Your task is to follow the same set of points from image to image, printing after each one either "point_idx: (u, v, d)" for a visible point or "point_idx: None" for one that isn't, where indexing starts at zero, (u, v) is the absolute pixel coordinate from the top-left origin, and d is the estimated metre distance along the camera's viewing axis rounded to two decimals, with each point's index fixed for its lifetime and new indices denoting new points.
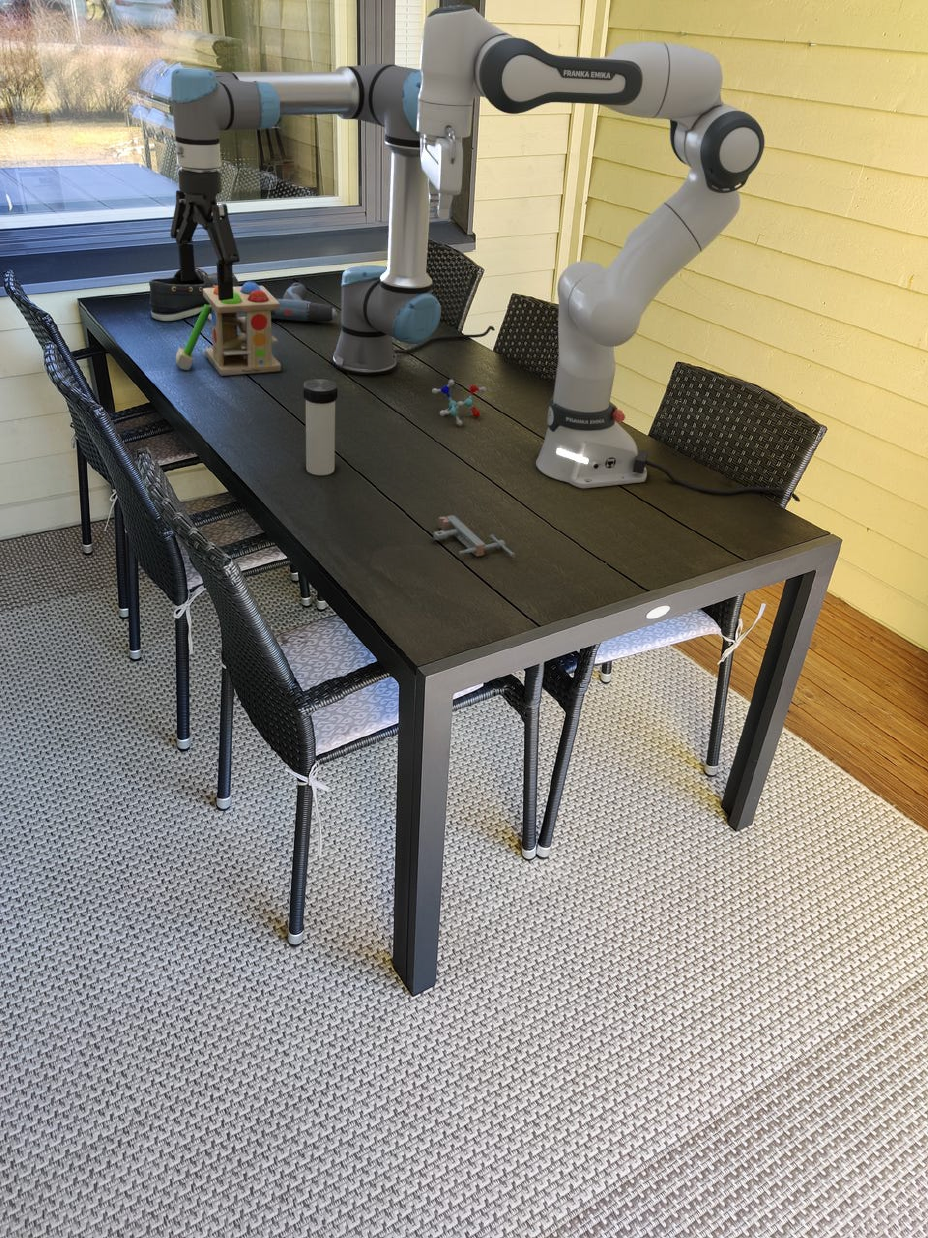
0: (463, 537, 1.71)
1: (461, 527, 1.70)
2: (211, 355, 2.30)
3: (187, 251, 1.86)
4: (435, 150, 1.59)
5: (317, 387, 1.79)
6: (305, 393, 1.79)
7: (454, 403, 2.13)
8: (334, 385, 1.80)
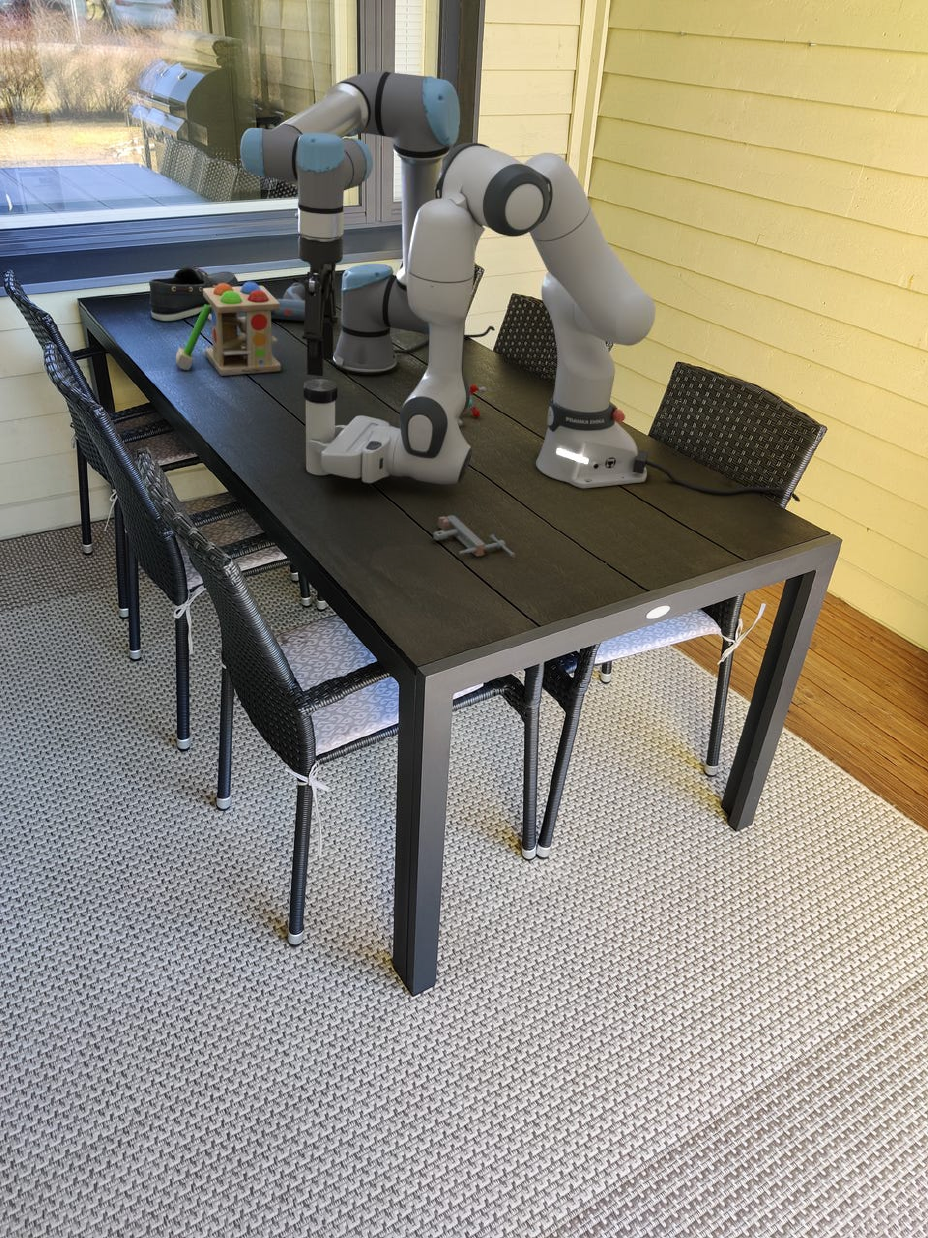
0: (463, 537, 1.71)
1: (461, 527, 1.70)
2: (211, 355, 2.30)
3: (325, 330, 1.78)
4: None
5: (317, 387, 1.79)
6: (305, 393, 1.79)
7: None
8: (334, 385, 1.80)
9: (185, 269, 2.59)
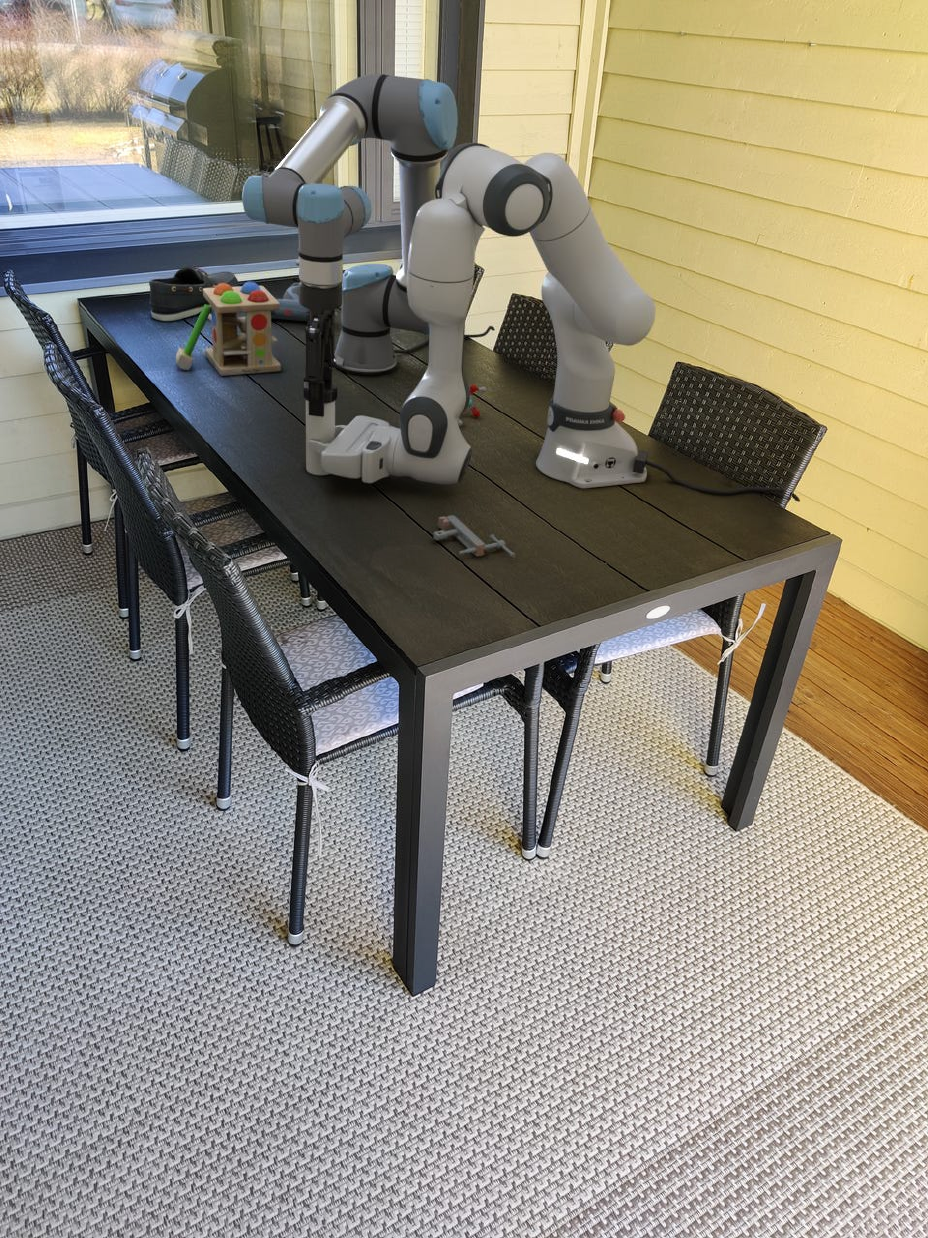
0: (463, 537, 1.71)
1: (461, 527, 1.70)
2: (211, 355, 2.30)
3: (324, 374, 1.82)
4: None
5: None
6: (305, 393, 1.79)
7: None
8: (334, 385, 1.80)
9: (185, 269, 2.59)
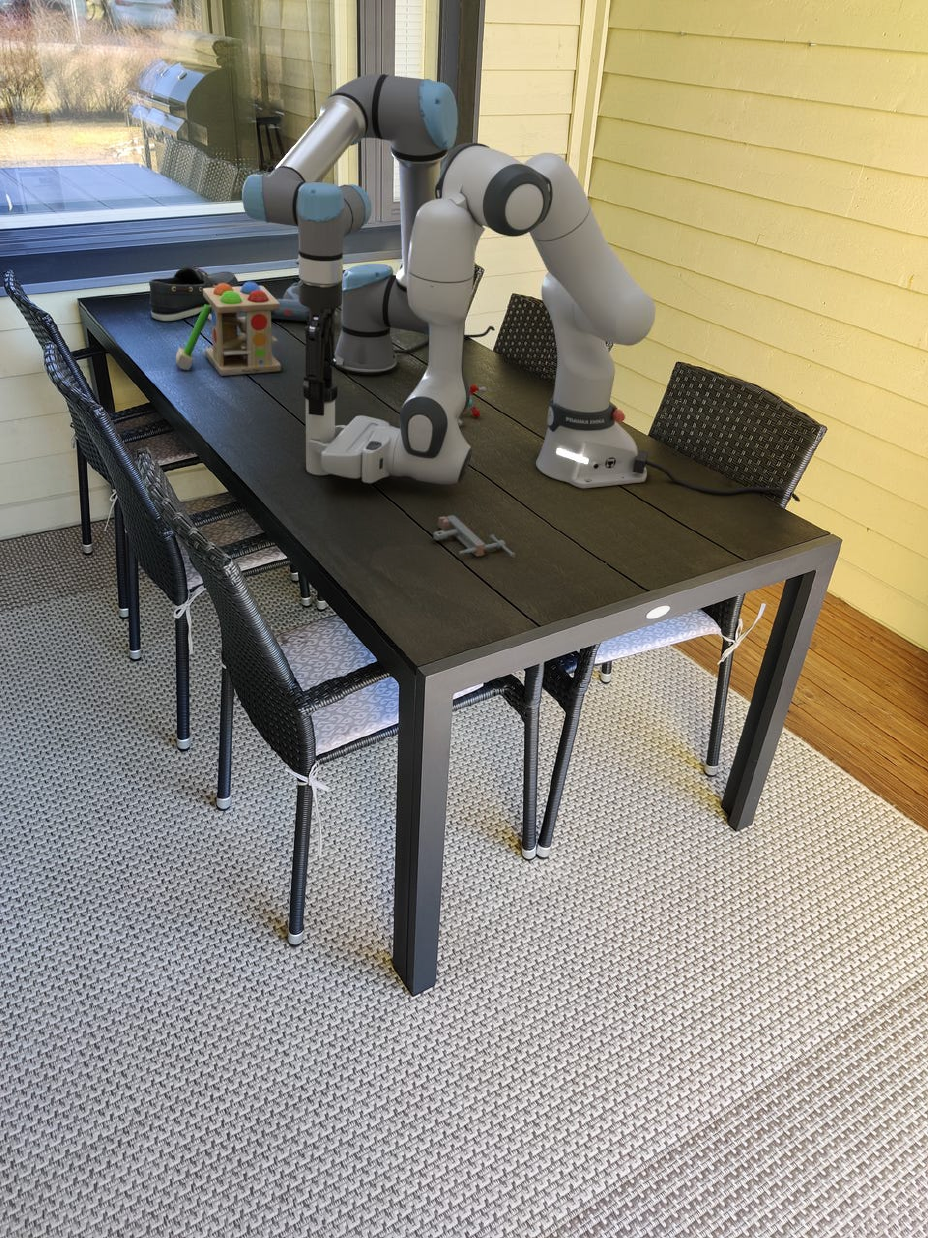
0: (463, 537, 1.71)
1: (461, 527, 1.70)
2: (211, 355, 2.30)
3: (324, 373, 1.82)
4: None
5: (327, 383, 1.81)
6: (335, 393, 1.80)
7: None
8: None
9: (185, 269, 2.59)
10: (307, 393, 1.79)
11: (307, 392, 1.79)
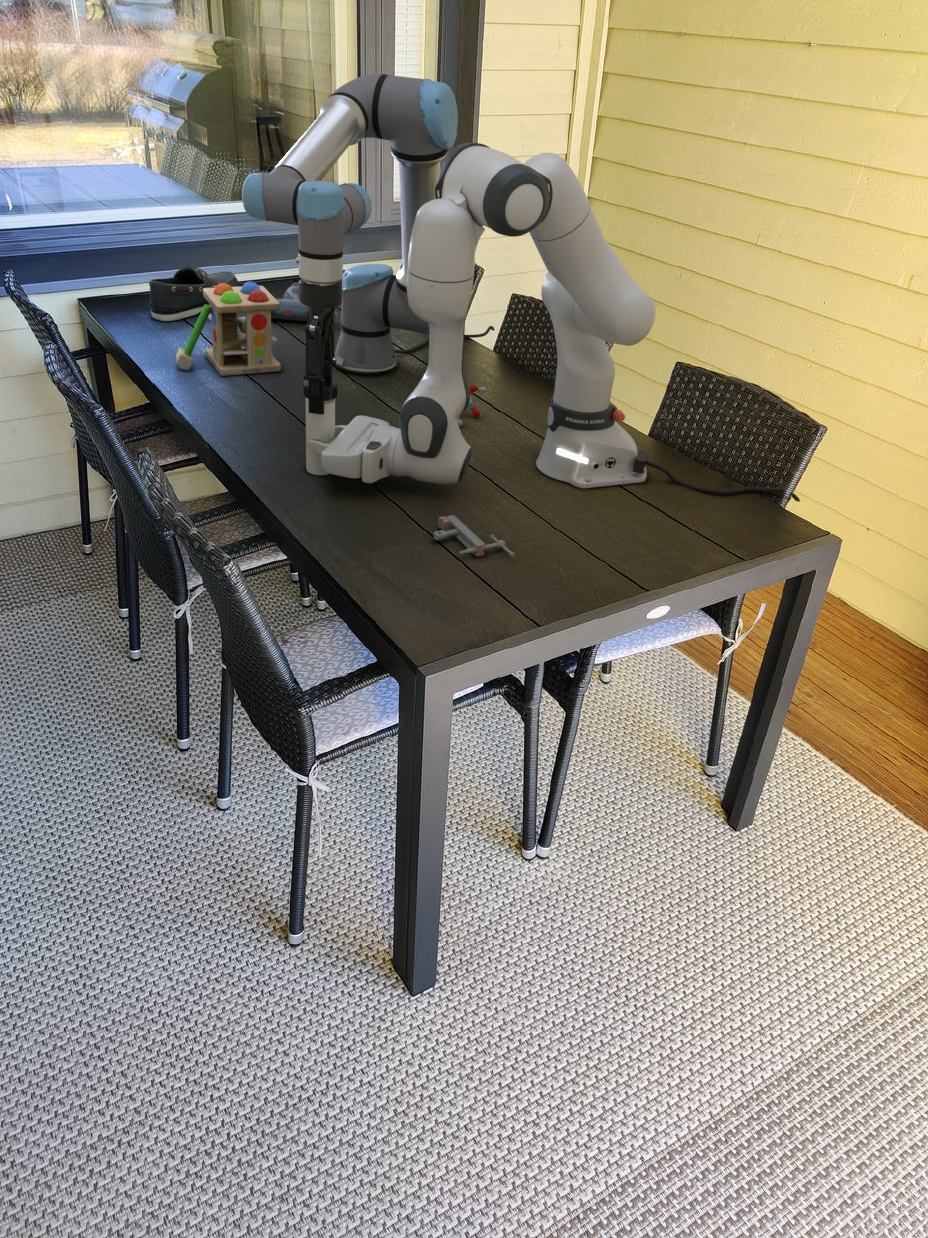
0: (463, 537, 1.71)
1: (461, 527, 1.70)
2: (211, 355, 2.30)
3: (324, 372, 1.82)
4: None
5: None
6: None
7: None
8: None
9: (185, 269, 2.59)
10: (336, 390, 1.81)
11: (336, 389, 1.80)
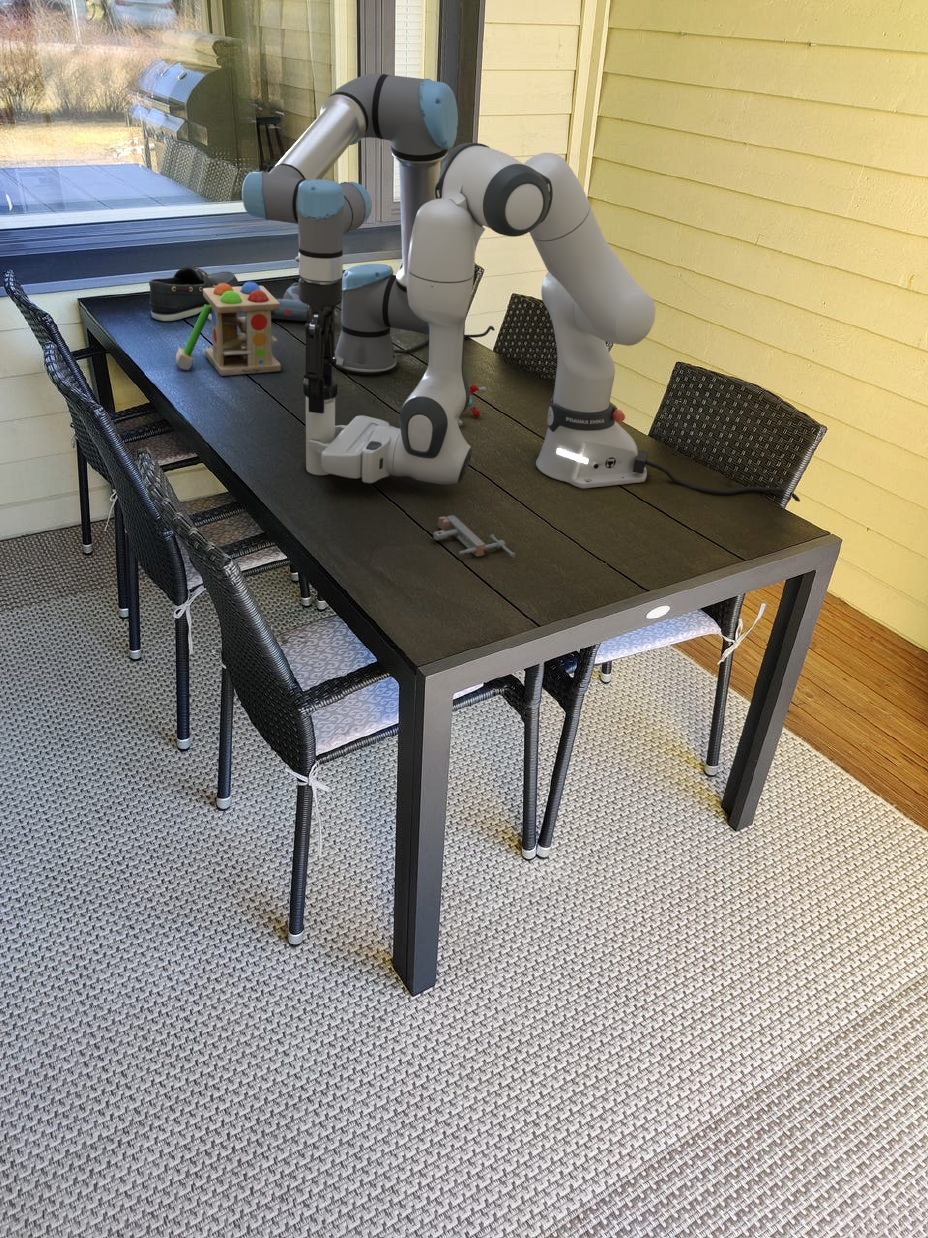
0: (463, 537, 1.71)
1: (461, 527, 1.70)
2: (211, 355, 2.30)
3: (324, 371, 1.82)
4: None
5: None
6: None
7: None
8: (331, 378, 1.81)
9: (185, 269, 2.59)
10: None
11: None
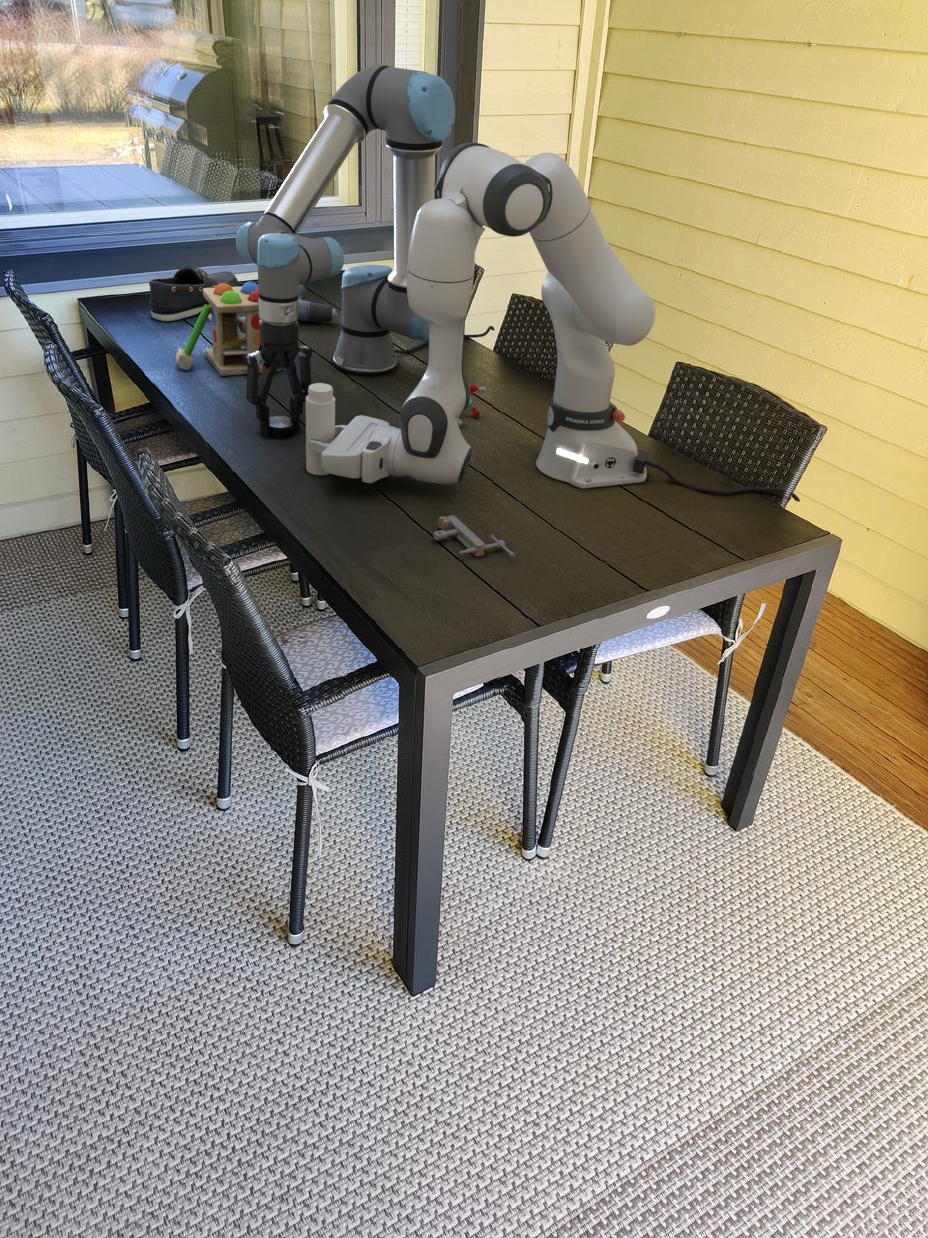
0: (463, 537, 1.71)
1: (461, 527, 1.70)
2: (211, 355, 2.30)
3: None
4: None
5: (283, 419, 2.02)
6: None
7: None
8: None
9: (185, 269, 2.59)
10: (275, 432, 1.99)
11: (275, 431, 1.99)
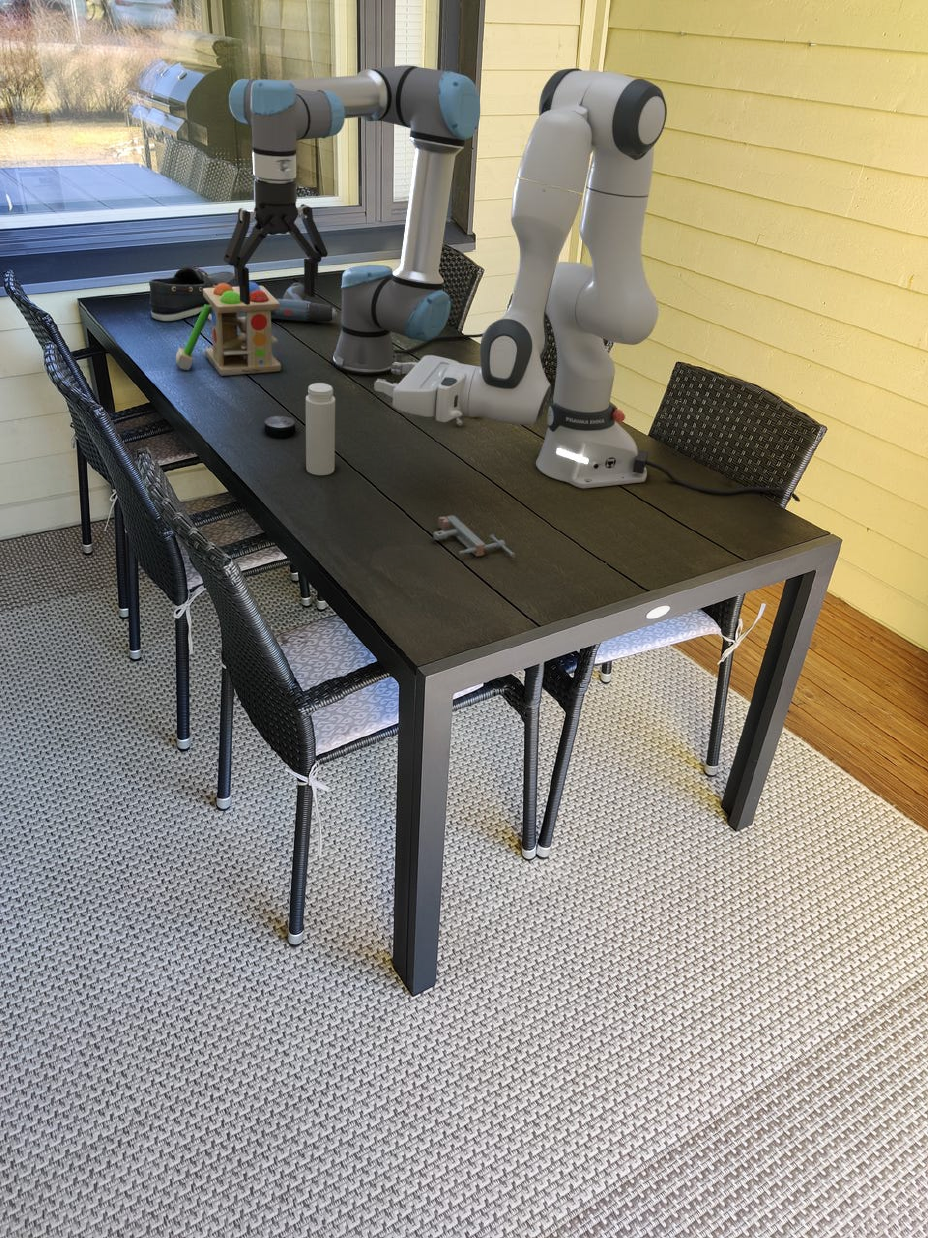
0: (463, 537, 1.71)
1: (461, 527, 1.70)
2: (211, 355, 2.30)
3: None
4: None
5: (283, 419, 2.02)
6: None
7: None
8: (267, 420, 2.01)
9: (185, 269, 2.59)
10: (275, 432, 1.99)
11: (275, 431, 1.99)
